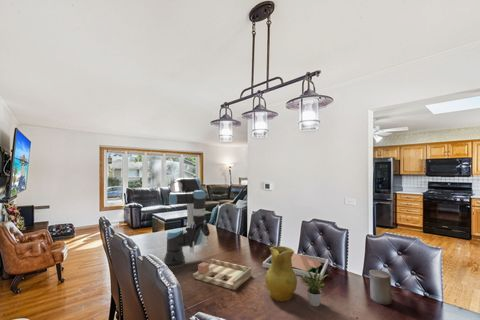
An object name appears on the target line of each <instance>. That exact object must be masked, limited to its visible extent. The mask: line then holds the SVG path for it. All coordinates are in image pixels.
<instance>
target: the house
mask: <svg viewBox="0 0 480 320" xmlns="http://www.w3.org/2000/svg"><path fill="white" fill-rule="evenodd" d="M295 253H296V252H294V253H293V255H292V257H291V259H292V268H293V269H297V270H302V271H306V270H308V271H309V272H311V273H313V271H314V272H316V271H317V269H318V271H319V270H320V267H321V265H323V263H321V262H322V261H319V260H316V259H312V258H309V257H306V256H302V255H303V254H301V255H299V254H300V253H296V254H295ZM305 269H306V270H305Z"/></svg>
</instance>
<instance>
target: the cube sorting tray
mask: <svg viewBox="0 0 480 320" xmlns="http://www.w3.org/2000/svg"><path fill="white" fill-rule="evenodd" d="M213 276H214V277H213ZM251 277H252V267H251V266H250V267H249V266H244V265H241V264H237V263H236V264H235V263H231V262H228V261H222V260H218V259H213V258H211V263H209V272H207V273H205V274H201V273H198V270H197V271H195V272H194V273H192V278H193V279H196V280H199V281H202V282H205V283H208V284H213V285H216V286H220V287H223V288H227V289H229V290H232V291H236V290H237V289H238V288H239V287H240V286H241V285H243V284H244V283H245V282H246V281H247V280H249V278H251Z"/></svg>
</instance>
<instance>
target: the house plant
mask: <svg viewBox="0 0 480 320" xmlns="http://www.w3.org/2000/svg"><path fill="white" fill-rule="evenodd" d="M305 270H306V269H305ZM306 271H307V272H308V273H309V275H310V279H309V277H307V276H306V275H305V274H304V275H305V276H306V277H305V276H302V275H301V277H302V278H303V280H304V281H302V283H305V284H306V286H307V287H308V288H307V292H306V293H307V296H308V297H307V298H308V303H309V305H310V306H313V307H319V306H320V305H321V299H322V289H324V288H325V286H326V284H325V283H323V281H324V279H325V277H327V276H328V274H324V275H323V277H322V278H321V279H320V280H319V278H320V274H321V272H320V273H319V270H318V268H316V271H314V272H313V271H312V272H311V271H309V270H306ZM310 272H311V273H315V274H314V278H313V277H312V275H311V273H310ZM302 274H303V273H302ZM317 274H319V276H318V278H317ZM321 282H322V283H321Z"/></svg>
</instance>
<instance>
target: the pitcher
mask: <svg viewBox="0 0 480 320" xmlns="http://www.w3.org/2000/svg"><path fill="white" fill-rule="evenodd" d="M269 250H270V253H271V254H270V255H272V260H271V261H270V264H271V266H270V268H268V270H267V272H266V273H265V285H266V286H265V287H266V289H267V291H269V293H268V295H269V297H271V298H272V299H274V300H275V301H277V302H278V301H279V302H286V301H290V300H291V299H292V298H293V294H294V293H295V291H296V289H297V285H298V278H297V275H296V274H295V272H294V271H293V269H294V267H292V259H291V257H292V255H293V253H295V249H293V248H291V247H288V246H282V245H276V246H275V245H274V246H270V247H269Z"/></svg>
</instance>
